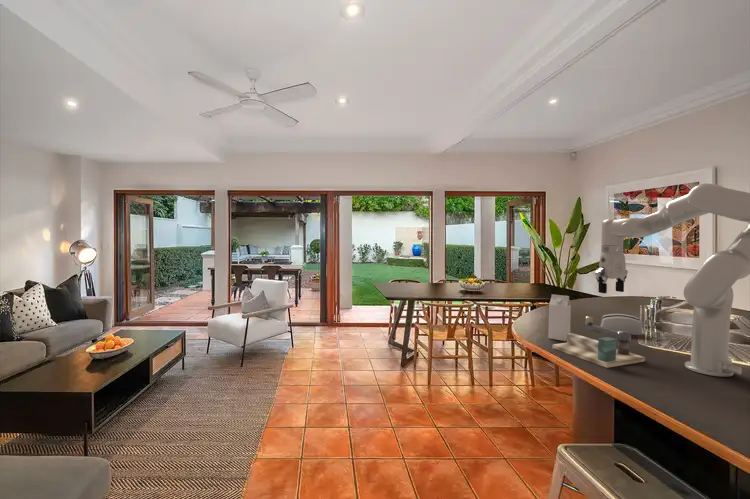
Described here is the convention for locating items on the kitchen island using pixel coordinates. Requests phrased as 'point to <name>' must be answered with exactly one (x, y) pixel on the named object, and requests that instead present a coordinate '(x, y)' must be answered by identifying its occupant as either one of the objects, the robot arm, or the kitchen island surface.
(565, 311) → the milk carton
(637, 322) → the grey curved block
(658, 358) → the kitchen island surface
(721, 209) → the robot arm
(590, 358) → the base
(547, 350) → the kitchen island surface
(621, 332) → the swing bar
